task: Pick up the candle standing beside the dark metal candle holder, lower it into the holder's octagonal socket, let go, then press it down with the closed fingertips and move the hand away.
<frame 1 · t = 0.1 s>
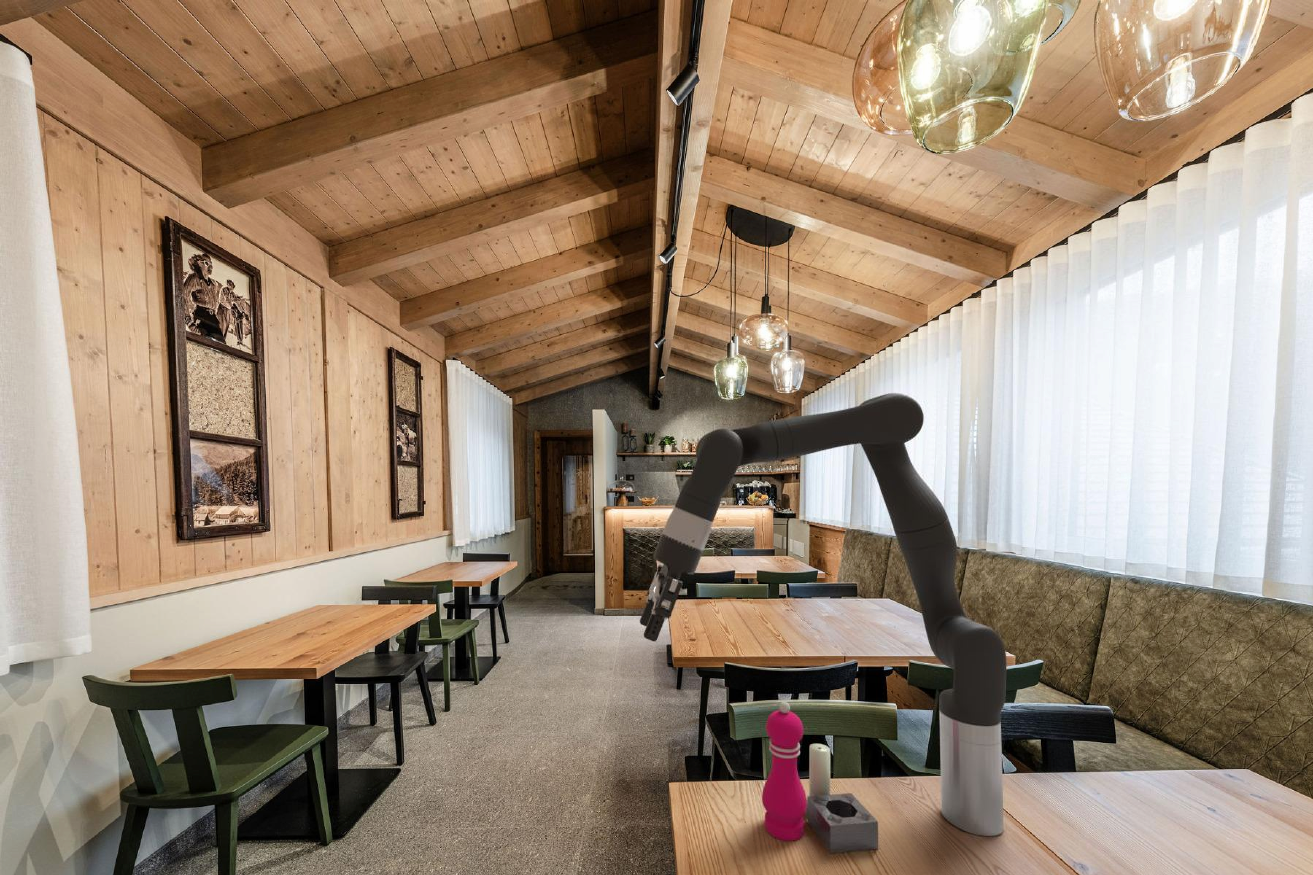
hand: (646, 631, 90), 31 cm above the table, tool tilted 20°, fingers open, 8 cm apart
candle: (819, 807, 95), on the table
pepper mill: (784, 829, 89), on the table
candle holder: (841, 834, 88), on the table
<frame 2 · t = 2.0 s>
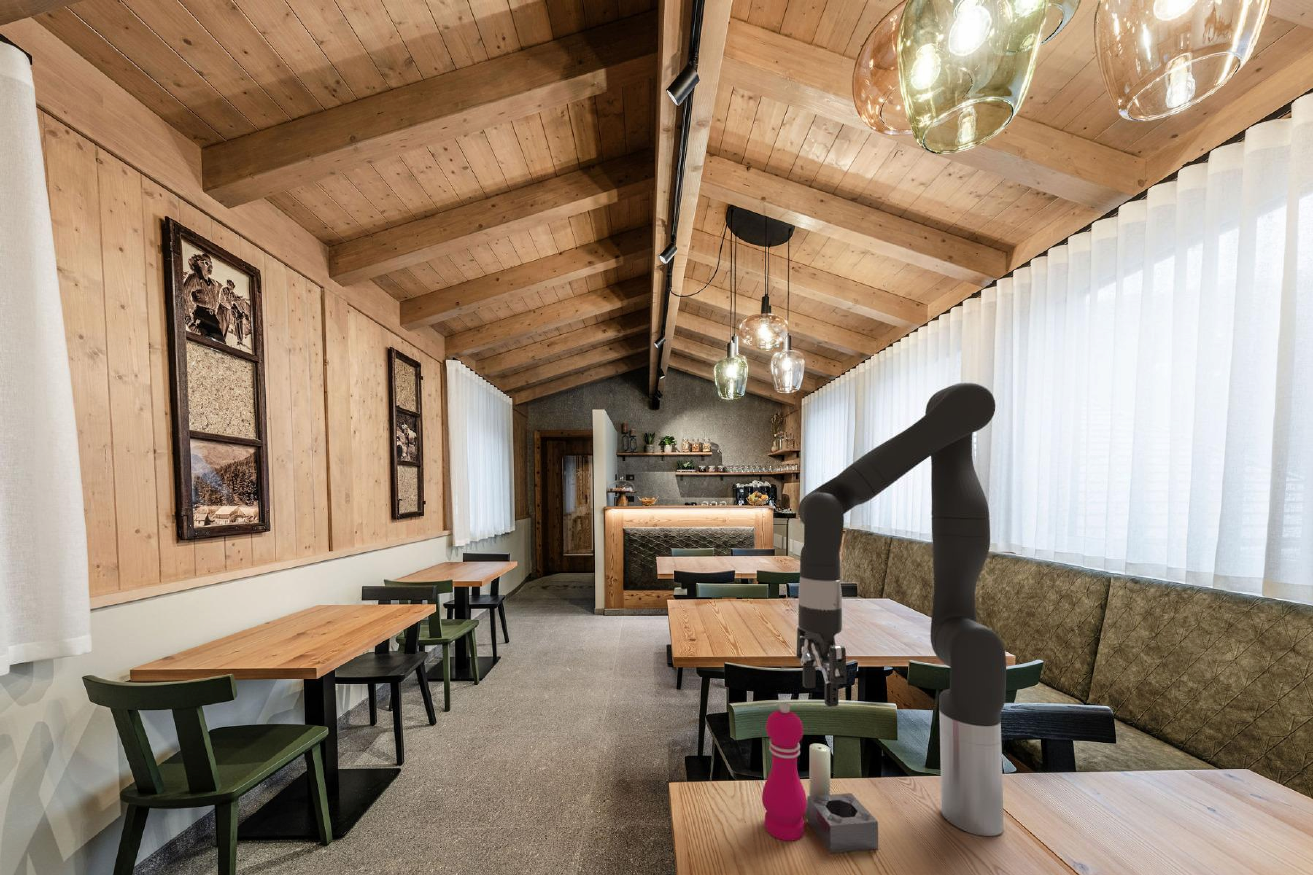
hand: (819, 695, 97), 19 cm above the table, tool pointing down, fingers open, 8 cm apart
nothing on the table moved.
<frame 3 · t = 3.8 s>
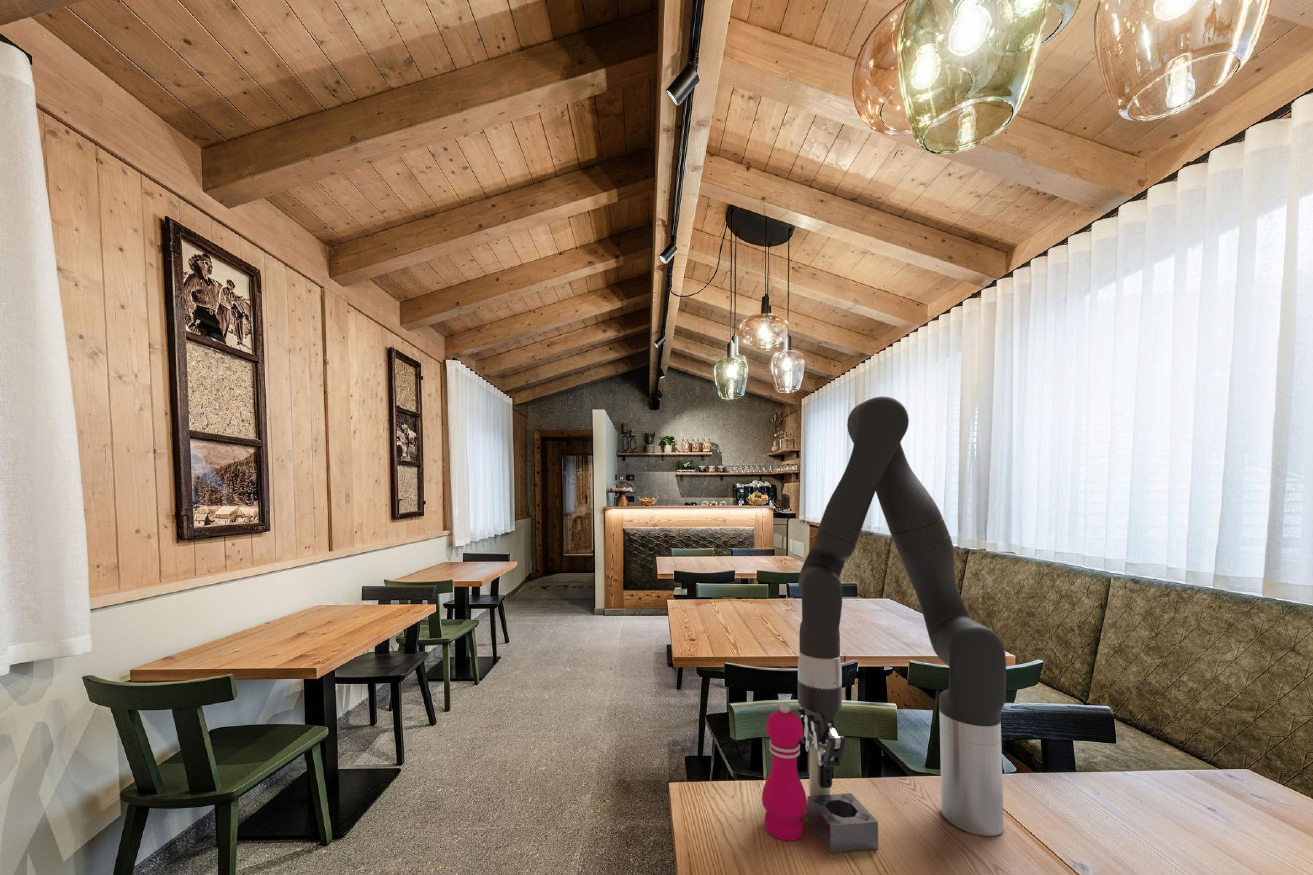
hand: (819, 779, 95), 5 cm above the table, tool pointing down, fingers closed on candle, 3 cm apart
candle: (819, 807, 95), on the table, touching gripper
everything else where it was.
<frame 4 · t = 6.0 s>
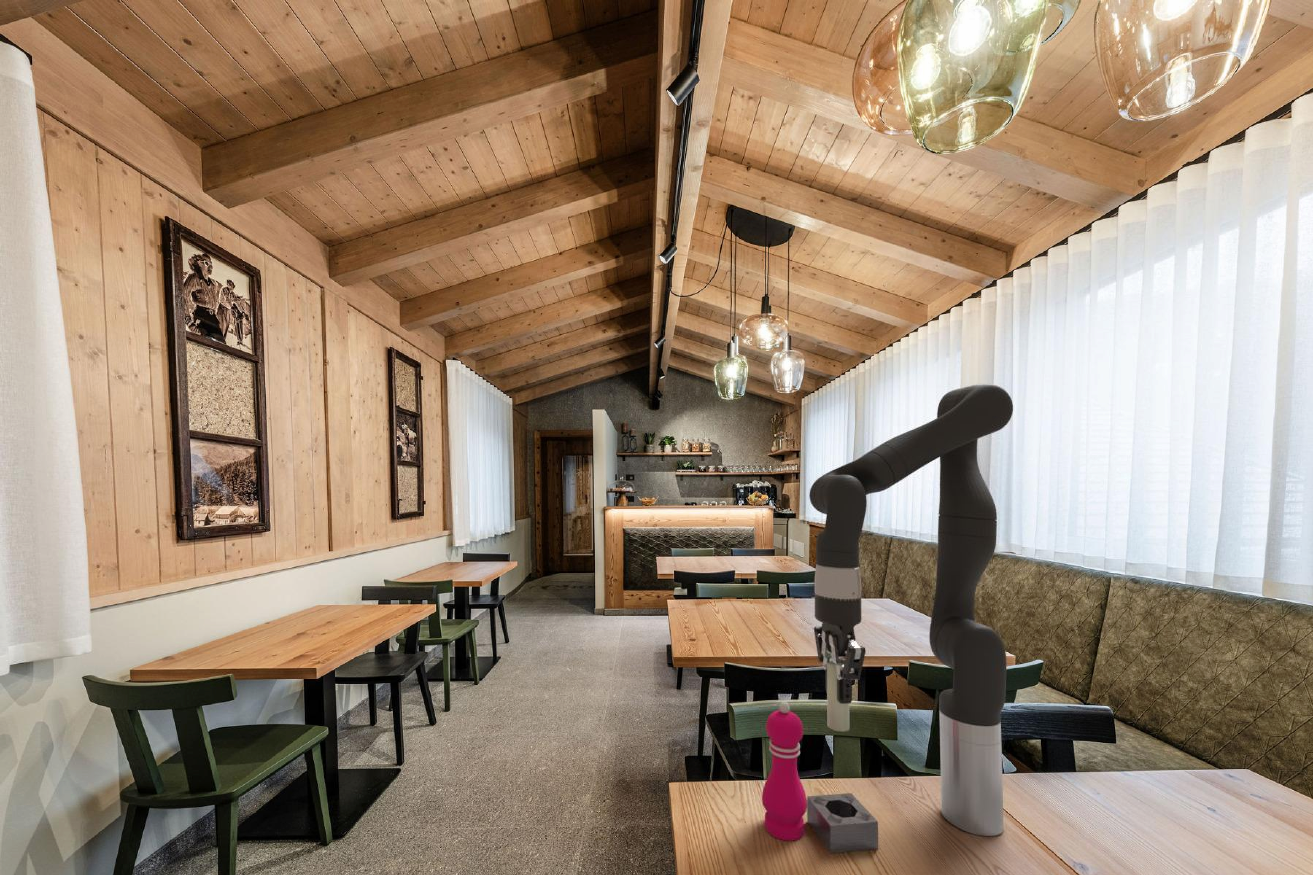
hand: (838, 697, 90), 21 cm above the table, tool pointing down, fingers closed on candle, 3 cm apart
candle: (838, 726, 90), point 16 cm above the table, touching gripper
everything else where it was.
when the fingers open (7 cm above the table, at t = 8.5 s): candle stays where it is, resting on candle holder.
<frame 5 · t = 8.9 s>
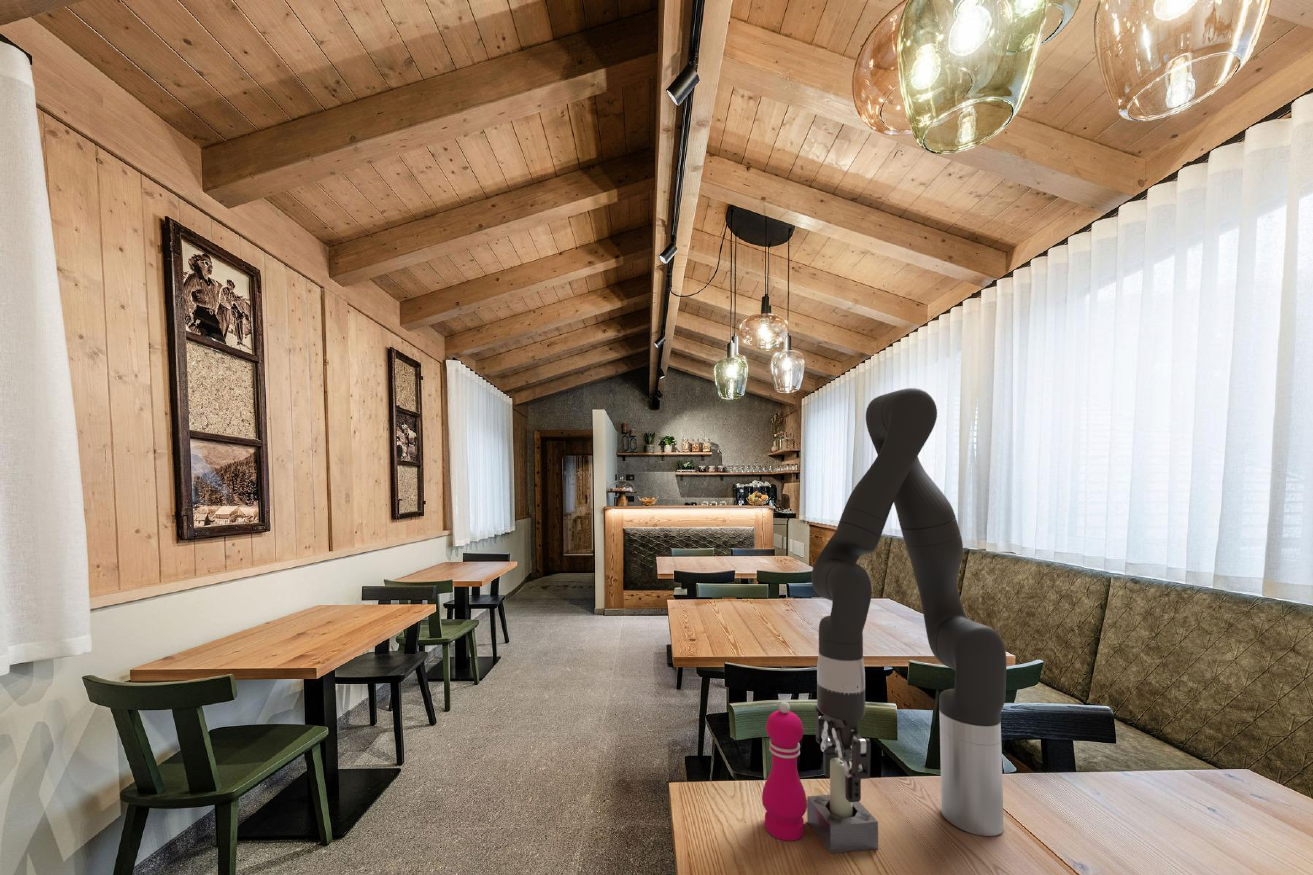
hand: (841, 787, 88), 7 cm above the table, tool pointing down, fingers open, 6 cm apart
candle: (840, 827, 88), point 1 cm above the table, touching candle holder
everything else where it was.
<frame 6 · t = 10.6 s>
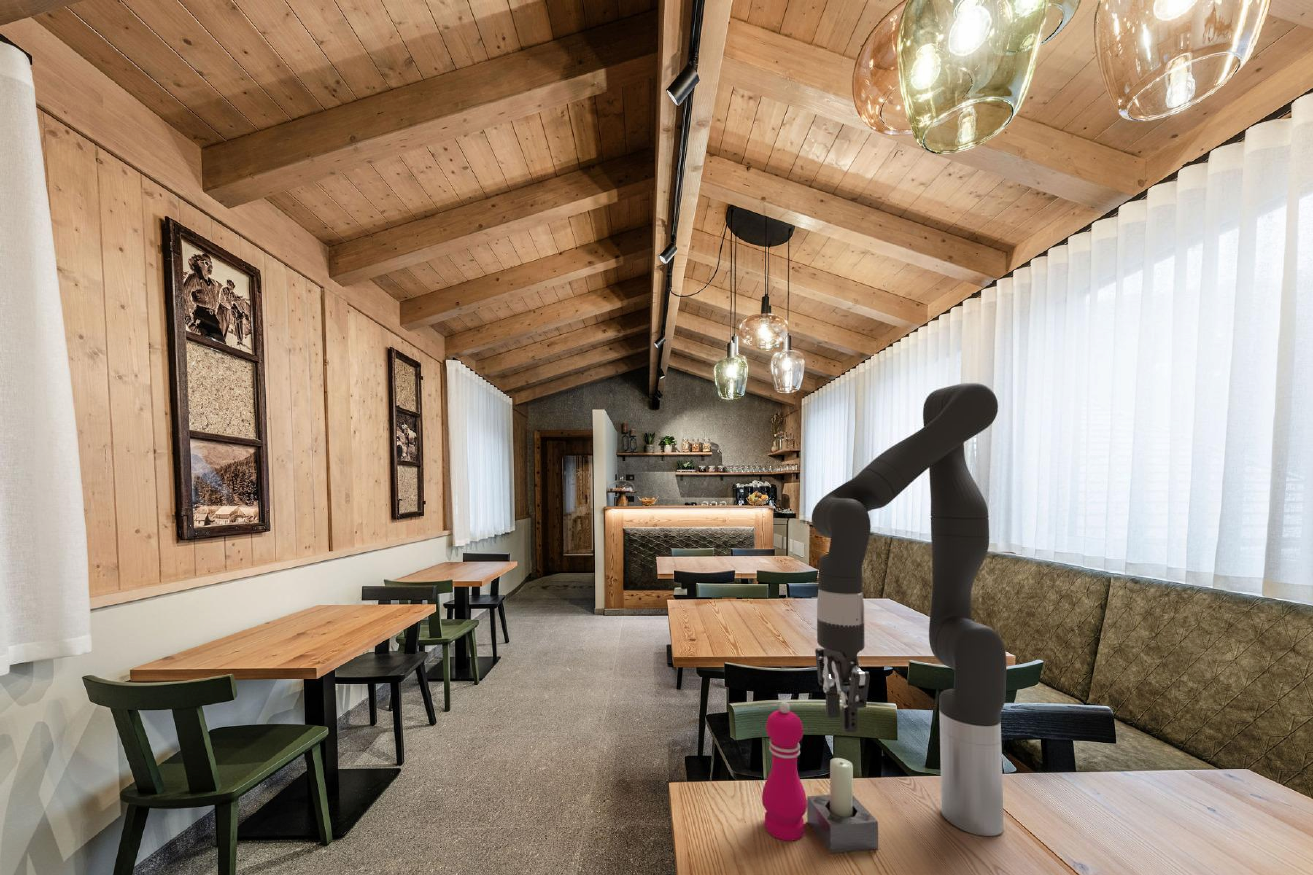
hand: (840, 722, 89), 17 cm above the table, tool pointing down, fingers open, 5 cm apart
nothing on the table moved.
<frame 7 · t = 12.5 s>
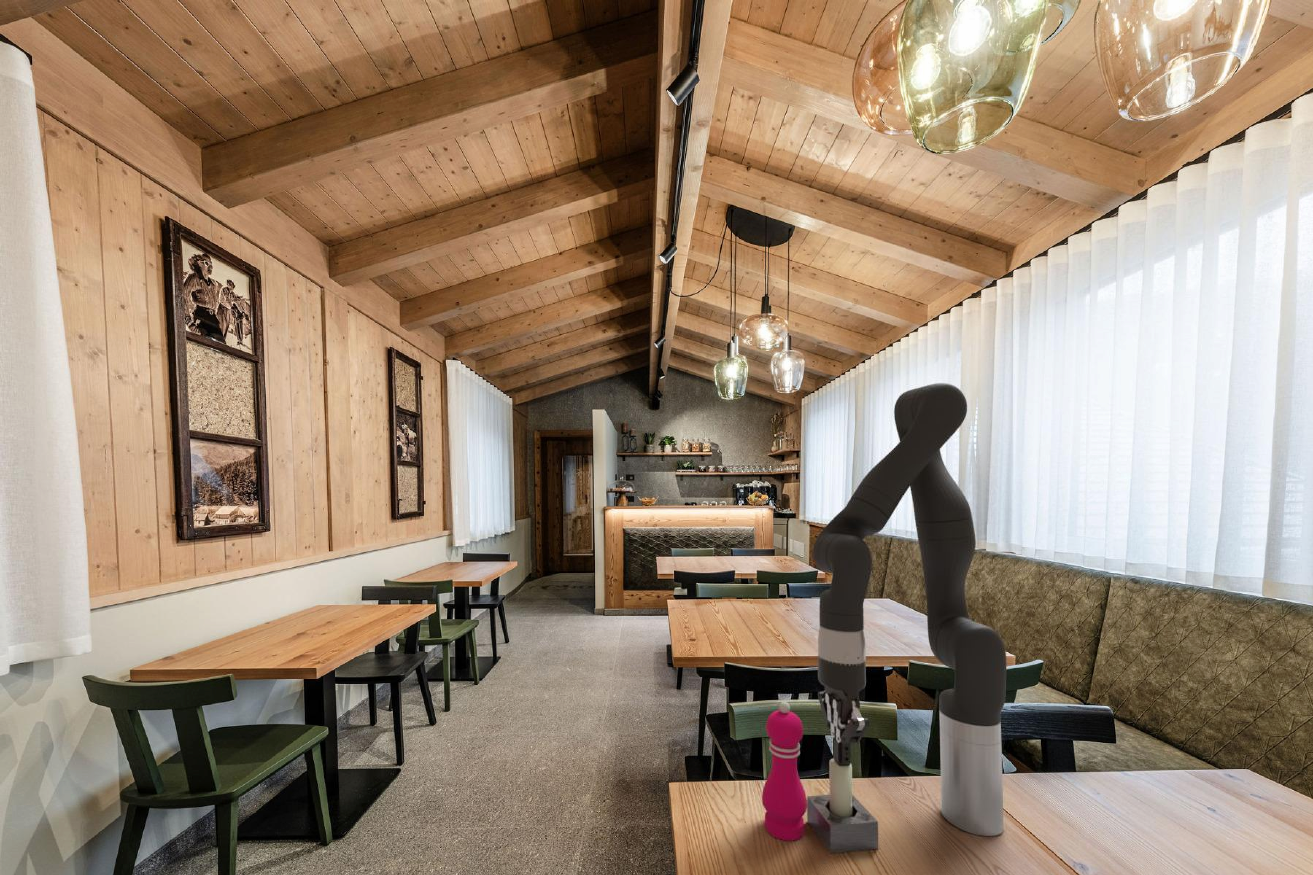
hand: (842, 763, 89), 11 cm above the table, tool pointing down, fingers closed
candle: (840, 827, 88), point 1 cm above the table, touching candle holder, gripper
everything else where it was.
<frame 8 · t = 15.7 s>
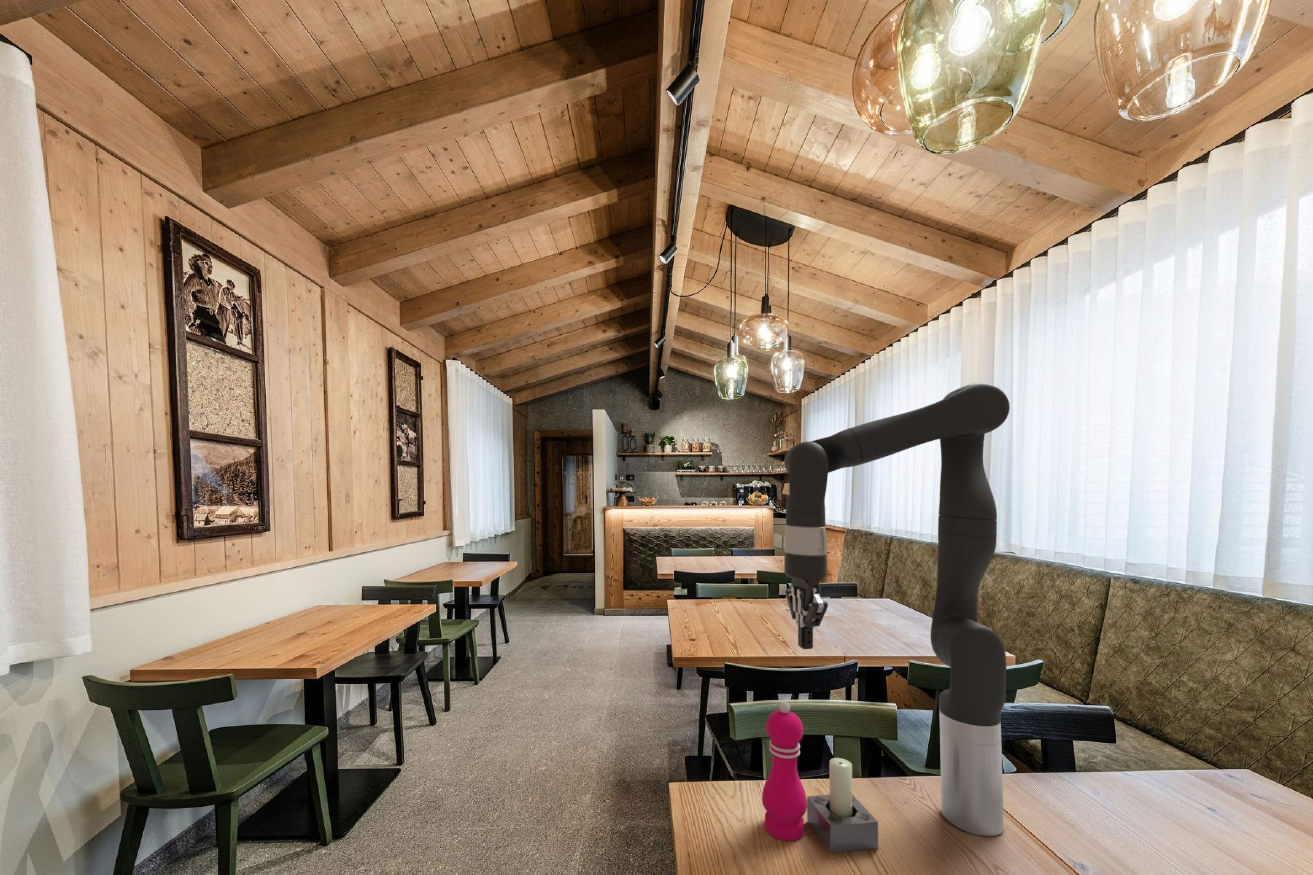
hand: (805, 647, 98), 27 cm above the table, tool pointing down, fingers closed
candle: (840, 827, 88), point 1 cm above the table, touching candle holder
everything else where it was.
at the end: candle 0.1 cm off-centre on the candle holder, point 1.0 cm above the candle holder's base; candle tilted 0°; the gripper is holding nothing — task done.
